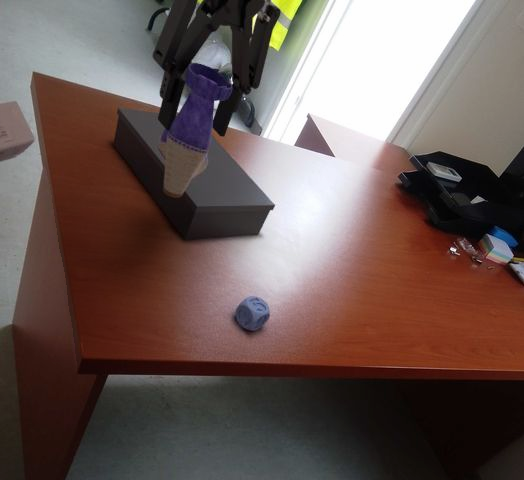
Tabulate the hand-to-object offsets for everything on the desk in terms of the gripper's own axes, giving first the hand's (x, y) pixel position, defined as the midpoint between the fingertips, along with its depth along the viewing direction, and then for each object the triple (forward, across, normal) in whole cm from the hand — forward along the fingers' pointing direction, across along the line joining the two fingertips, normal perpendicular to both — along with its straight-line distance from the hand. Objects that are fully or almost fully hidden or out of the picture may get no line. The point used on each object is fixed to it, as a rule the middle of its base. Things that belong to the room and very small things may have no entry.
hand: (192, 128), depth 65 cm
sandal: (+6, -1, 0) cm, 6 cm away
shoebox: (+21, +15, +15) cm, 29 cm away
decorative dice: (+21, +6, -20) cm, 30 cm away
